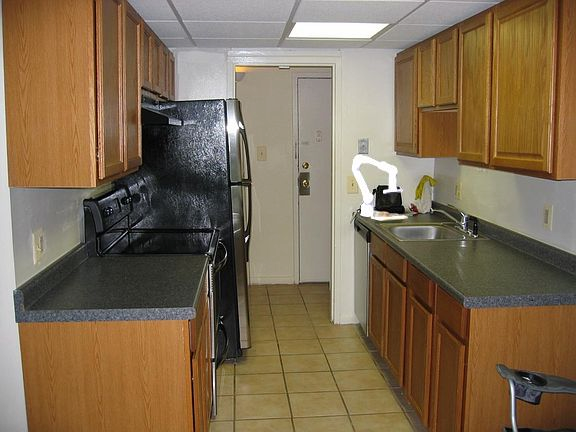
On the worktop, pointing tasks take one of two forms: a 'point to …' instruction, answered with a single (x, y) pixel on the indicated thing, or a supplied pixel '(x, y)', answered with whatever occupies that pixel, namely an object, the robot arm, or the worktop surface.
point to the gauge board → (390, 217)
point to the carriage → (384, 214)
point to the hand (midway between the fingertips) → (392, 202)
